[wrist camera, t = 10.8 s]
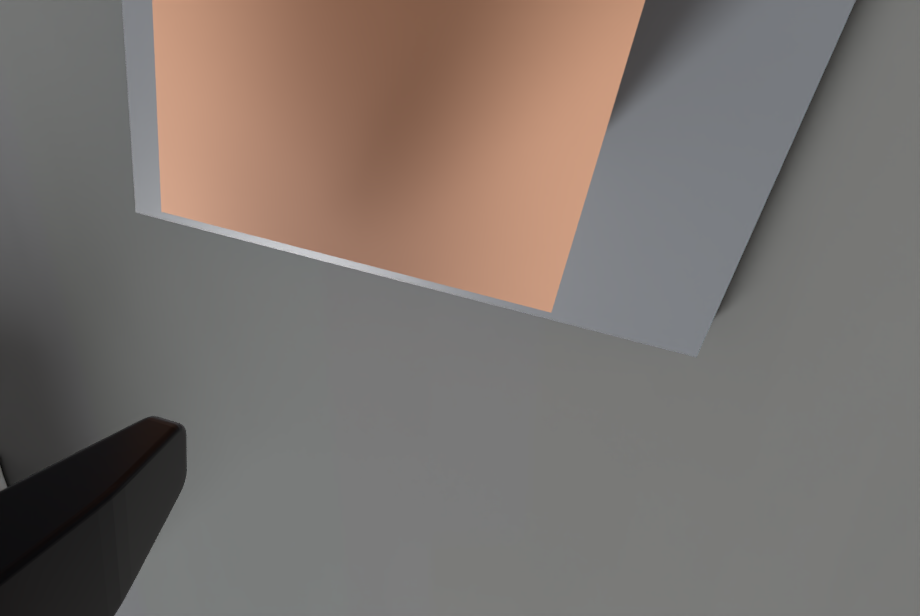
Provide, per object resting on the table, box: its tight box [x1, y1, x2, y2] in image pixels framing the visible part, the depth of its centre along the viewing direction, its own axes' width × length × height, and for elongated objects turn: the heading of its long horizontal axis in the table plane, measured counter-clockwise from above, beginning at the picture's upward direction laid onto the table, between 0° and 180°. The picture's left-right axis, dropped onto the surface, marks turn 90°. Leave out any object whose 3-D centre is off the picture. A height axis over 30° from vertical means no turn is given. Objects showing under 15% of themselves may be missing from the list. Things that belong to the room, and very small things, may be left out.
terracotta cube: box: [152, 0, 645, 313], centre depth 12 cm, size 6×6×6 cm
